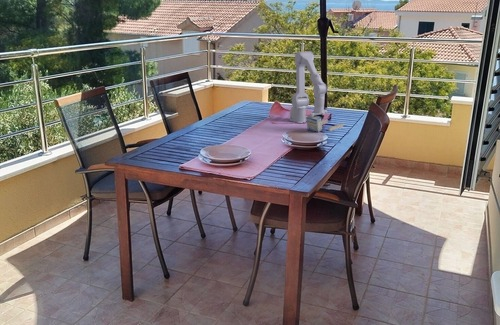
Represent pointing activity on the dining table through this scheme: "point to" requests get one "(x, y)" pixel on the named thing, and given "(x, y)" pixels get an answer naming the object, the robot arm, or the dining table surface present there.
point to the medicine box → (314, 123)
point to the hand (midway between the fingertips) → (317, 126)
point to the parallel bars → (333, 126)
